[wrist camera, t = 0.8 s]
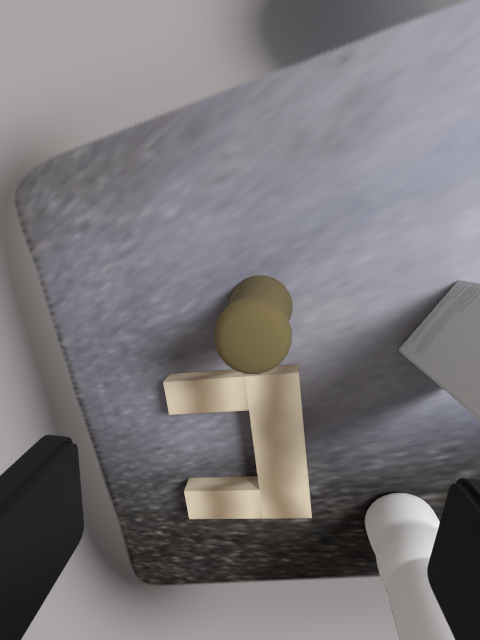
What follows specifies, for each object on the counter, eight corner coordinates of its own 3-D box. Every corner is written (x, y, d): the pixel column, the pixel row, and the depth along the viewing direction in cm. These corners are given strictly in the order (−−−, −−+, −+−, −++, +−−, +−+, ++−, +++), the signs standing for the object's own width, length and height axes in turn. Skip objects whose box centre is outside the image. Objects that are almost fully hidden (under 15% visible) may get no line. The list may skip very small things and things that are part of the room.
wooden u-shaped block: (297, 364, 32) (298, 372, 30) (309, 502, 35) (311, 517, 33) (169, 374, 34) (163, 382, 32) (193, 504, 37) (189, 518, 35)
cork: (260, 350, 32) (251, 406, 21) (215, 307, 31) (183, 343, 21) (306, 307, 30) (321, 344, 20) (259, 261, 30) (248, 274, 19)
